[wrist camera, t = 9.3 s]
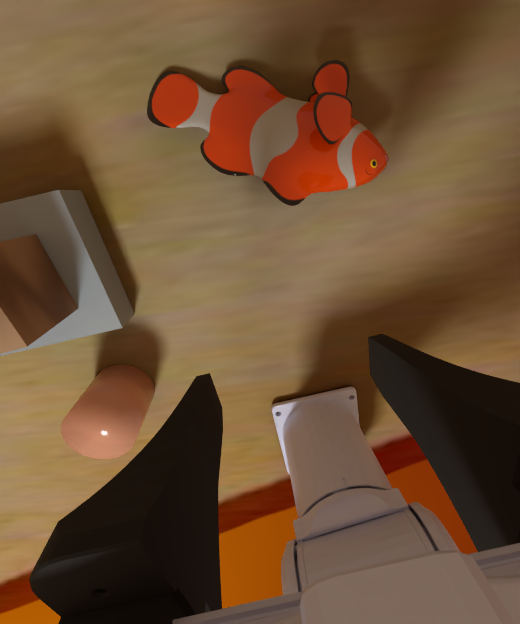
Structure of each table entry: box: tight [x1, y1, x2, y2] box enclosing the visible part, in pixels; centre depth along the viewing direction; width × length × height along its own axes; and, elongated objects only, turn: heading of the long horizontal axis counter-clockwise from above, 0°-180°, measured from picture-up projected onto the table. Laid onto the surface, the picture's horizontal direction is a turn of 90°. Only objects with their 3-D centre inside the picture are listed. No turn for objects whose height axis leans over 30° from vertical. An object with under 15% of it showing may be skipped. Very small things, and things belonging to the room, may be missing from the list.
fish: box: [147, 60, 389, 206], centre depth 15 cm, size 13×5×8 cm
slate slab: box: [0, 190, 135, 356], centre depth 19 cm, size 9×9×3 cm
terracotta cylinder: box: [61, 364, 154, 459], centre depth 22 cm, size 5×5×5 cm
